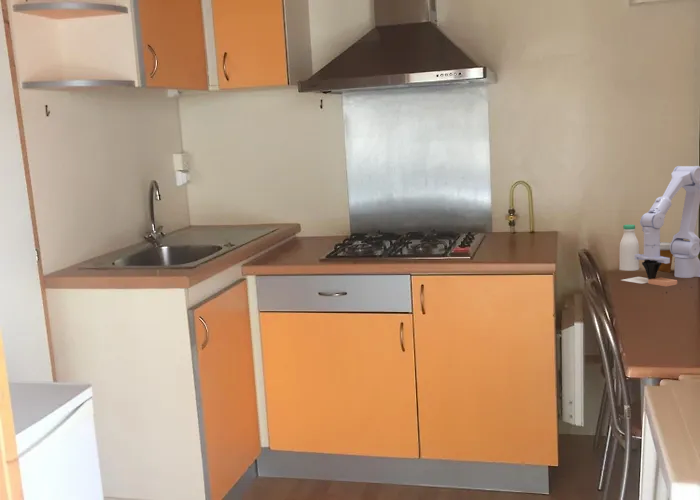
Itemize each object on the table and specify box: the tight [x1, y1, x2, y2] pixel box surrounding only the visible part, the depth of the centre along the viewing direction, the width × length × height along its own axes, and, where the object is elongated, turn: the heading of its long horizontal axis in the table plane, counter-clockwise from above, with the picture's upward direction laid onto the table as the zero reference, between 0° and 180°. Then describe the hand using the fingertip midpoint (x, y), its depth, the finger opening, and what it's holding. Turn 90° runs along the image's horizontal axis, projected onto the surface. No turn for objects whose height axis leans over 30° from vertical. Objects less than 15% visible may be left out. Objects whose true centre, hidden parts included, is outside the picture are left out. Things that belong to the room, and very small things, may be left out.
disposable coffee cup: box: [657, 241, 673, 274], centre depth 309 cm, size 10×10×12 cm
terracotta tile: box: [647, 276, 678, 287], centre depth 280 cm, size 6×8×2 cm
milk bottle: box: [618, 224, 640, 272], centre depth 312 cm, size 8×8×20 cm
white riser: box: [621, 276, 648, 284], centre depth 289 cm, size 10×10×2 cm
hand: (651, 280), depth 284 cm, fingers closed
